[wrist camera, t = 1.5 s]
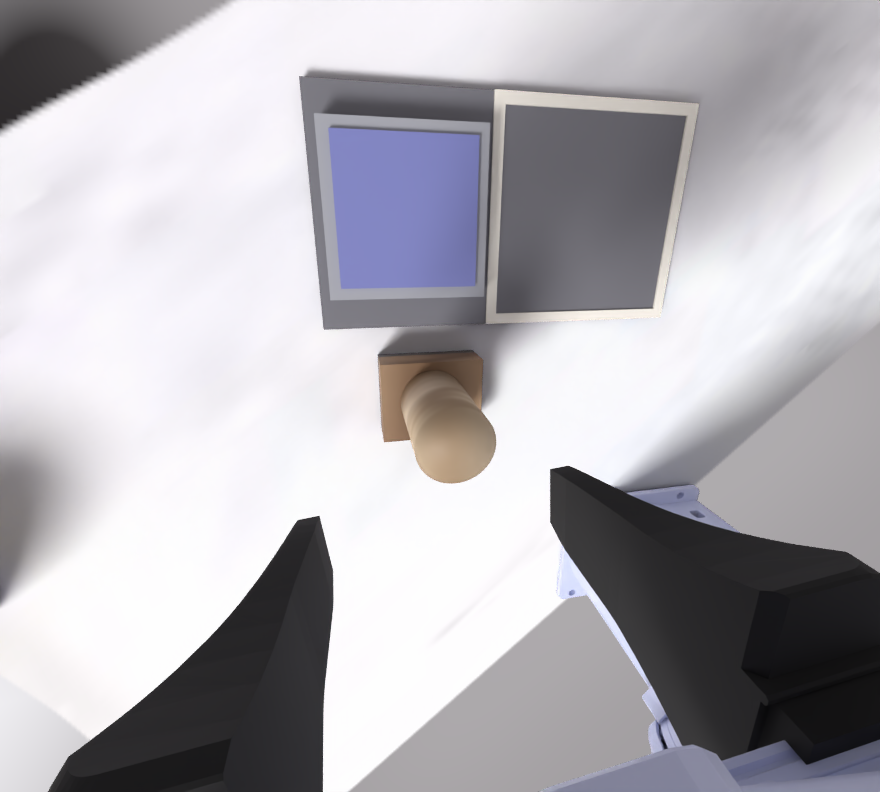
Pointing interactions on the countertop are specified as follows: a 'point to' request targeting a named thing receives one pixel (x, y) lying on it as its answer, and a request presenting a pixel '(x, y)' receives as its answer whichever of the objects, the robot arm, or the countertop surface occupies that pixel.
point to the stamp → (437, 411)
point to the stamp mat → (490, 203)
